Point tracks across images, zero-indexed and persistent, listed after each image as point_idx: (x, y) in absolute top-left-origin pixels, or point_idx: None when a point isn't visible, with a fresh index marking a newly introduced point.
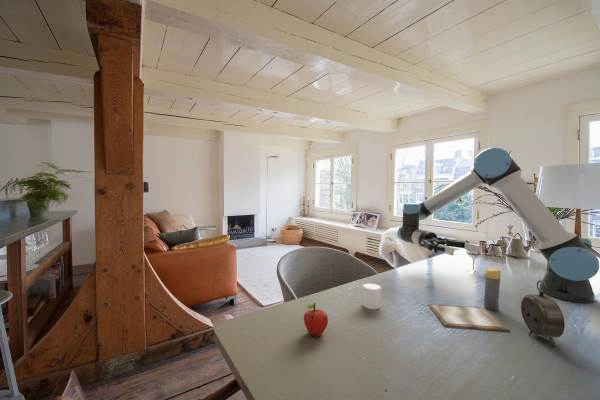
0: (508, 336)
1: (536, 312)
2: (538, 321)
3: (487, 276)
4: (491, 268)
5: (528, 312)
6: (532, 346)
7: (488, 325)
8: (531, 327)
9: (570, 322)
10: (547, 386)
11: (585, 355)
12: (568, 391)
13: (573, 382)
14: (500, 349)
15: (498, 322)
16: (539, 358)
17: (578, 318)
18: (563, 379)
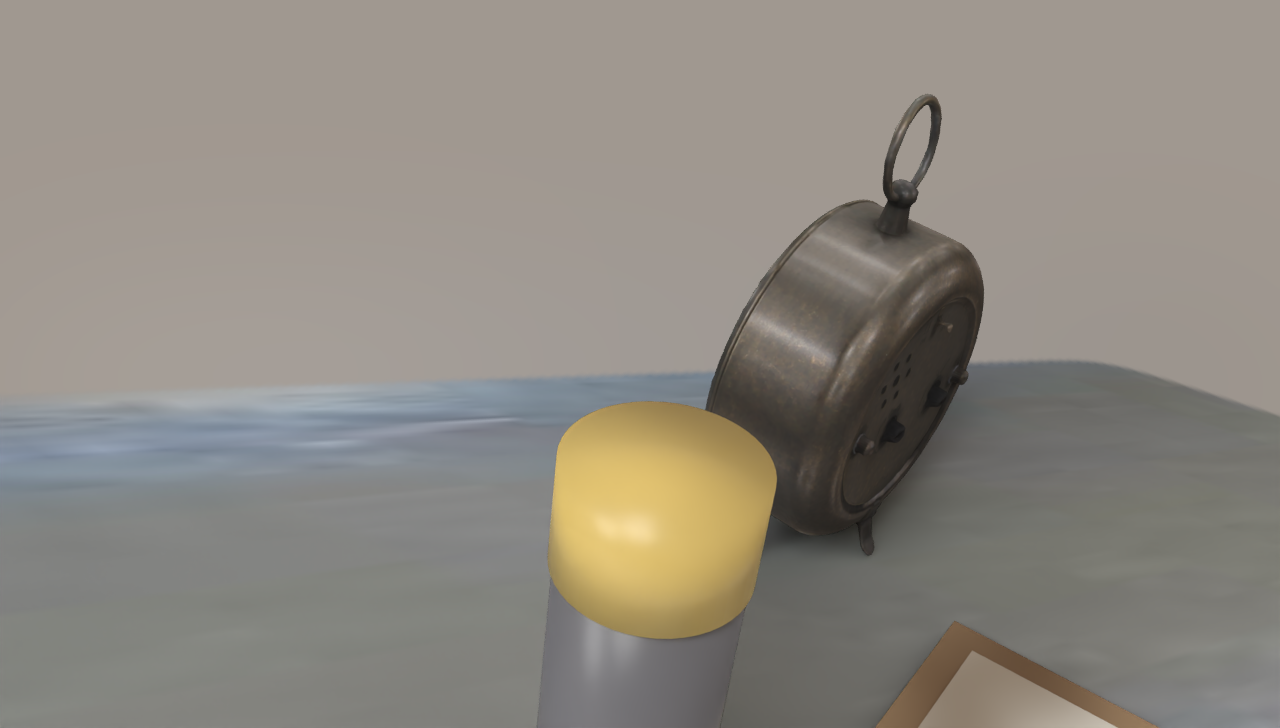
0: (1037, 621)
1: (953, 340)
2: (965, 375)
3: (755, 579)
4: (586, 494)
5: (889, 417)
6: (990, 520)
7: (1096, 724)
8: (883, 487)
9: (289, 461)
10: (1269, 434)
11: None
12: (1198, 397)
13: (1109, 394)
14: (1261, 601)
15: (943, 698)
16: (1082, 482)
17: (129, 443)
18: (1135, 413)
